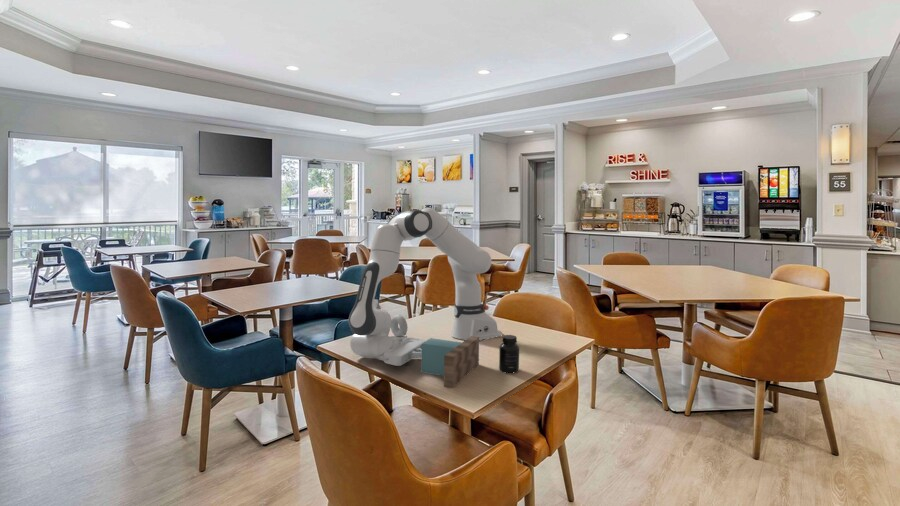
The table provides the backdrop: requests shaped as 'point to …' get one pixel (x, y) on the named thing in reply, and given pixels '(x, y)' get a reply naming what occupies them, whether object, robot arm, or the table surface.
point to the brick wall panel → (461, 361)
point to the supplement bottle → (509, 354)
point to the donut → (402, 324)
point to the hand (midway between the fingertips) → (426, 354)
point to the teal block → (436, 355)
